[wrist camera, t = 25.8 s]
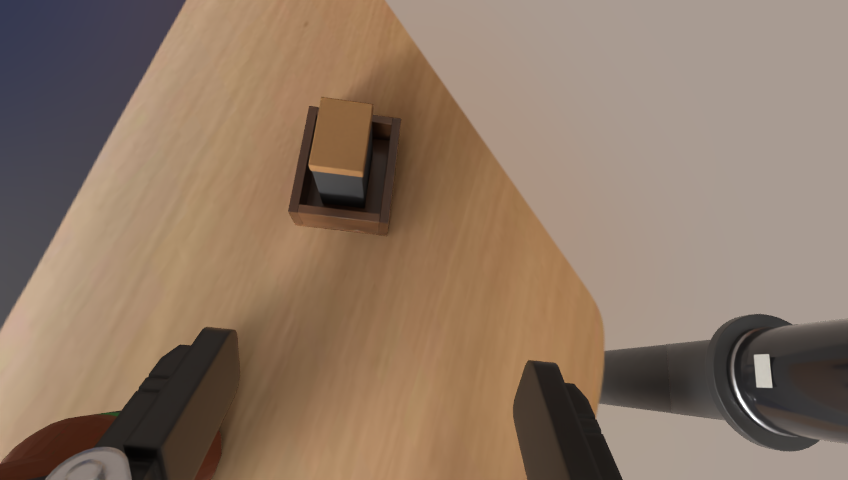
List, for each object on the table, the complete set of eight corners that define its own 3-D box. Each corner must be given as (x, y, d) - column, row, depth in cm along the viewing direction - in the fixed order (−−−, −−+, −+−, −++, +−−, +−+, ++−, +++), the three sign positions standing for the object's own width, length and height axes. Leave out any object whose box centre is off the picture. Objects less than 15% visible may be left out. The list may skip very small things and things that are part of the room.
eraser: (373, 151, 43) (373, 103, 35) (365, 209, 41) (363, 172, 33) (331, 146, 43) (321, 96, 35) (320, 204, 41) (307, 165, 33)
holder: (399, 138, 44) (401, 118, 41) (387, 236, 41) (388, 223, 38) (314, 126, 44) (309, 105, 40) (295, 225, 40) (288, 211, 37)
